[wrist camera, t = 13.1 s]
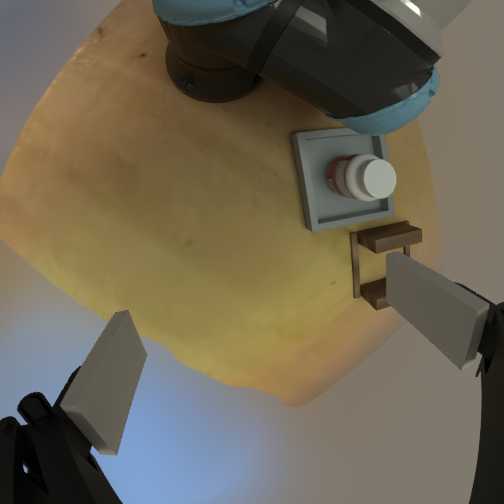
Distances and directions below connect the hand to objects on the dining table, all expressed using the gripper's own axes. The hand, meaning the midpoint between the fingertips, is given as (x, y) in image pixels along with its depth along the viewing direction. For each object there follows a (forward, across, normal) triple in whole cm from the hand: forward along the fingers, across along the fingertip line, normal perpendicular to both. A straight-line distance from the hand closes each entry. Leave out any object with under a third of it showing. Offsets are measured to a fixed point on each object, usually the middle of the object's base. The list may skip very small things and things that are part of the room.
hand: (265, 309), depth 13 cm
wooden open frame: (+29, +23, -12) cm, 39 cm away
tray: (+29, +17, +3) cm, 33 cm away
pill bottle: (+28, +17, +3) cm, 33 cm away
